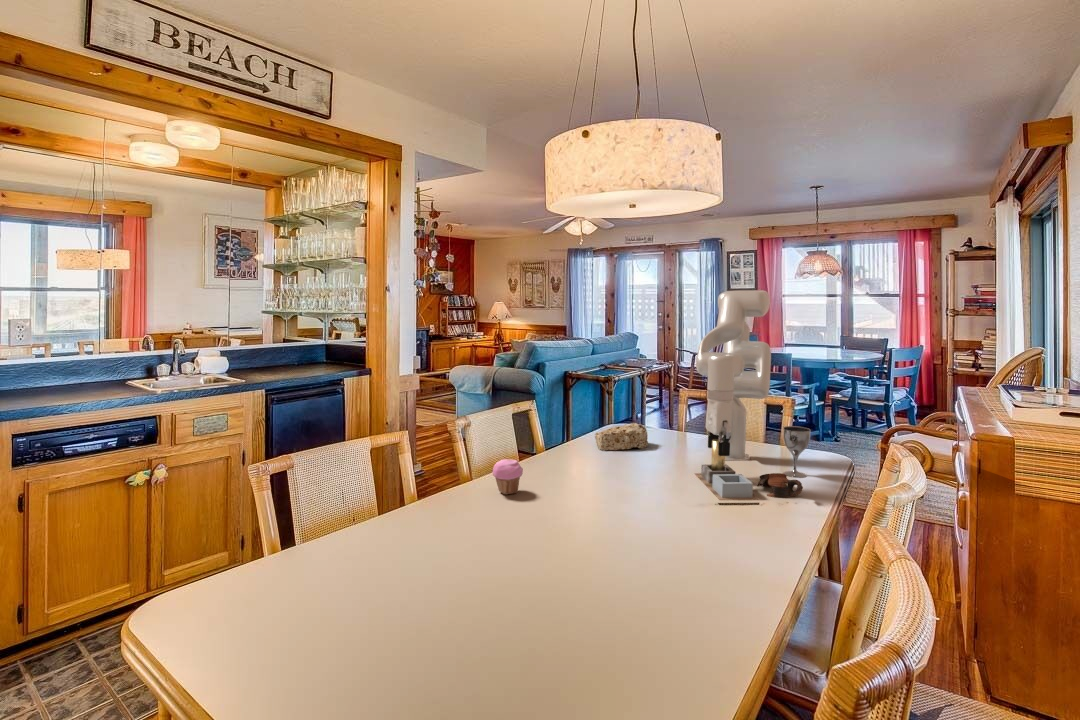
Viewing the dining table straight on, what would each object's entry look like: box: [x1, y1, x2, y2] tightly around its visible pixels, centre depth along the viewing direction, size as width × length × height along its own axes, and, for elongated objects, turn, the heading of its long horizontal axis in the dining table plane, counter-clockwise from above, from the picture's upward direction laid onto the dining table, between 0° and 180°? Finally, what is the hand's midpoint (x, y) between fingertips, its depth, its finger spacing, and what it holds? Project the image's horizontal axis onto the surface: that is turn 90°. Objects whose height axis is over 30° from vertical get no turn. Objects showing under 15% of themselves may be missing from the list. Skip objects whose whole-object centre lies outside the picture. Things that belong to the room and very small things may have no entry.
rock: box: [594, 422, 649, 451], centre depth 216 cm, size 21×14×10 cm
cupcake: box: [492, 458, 524, 495], centre depth 163 cm, size 9×9×10 cm
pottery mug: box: [756, 472, 804, 503], centre depth 158 cm, size 12×10×8 cm
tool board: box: [694, 463, 760, 506], centre depth 164 cm, size 24×11×5 cm, turn 1°
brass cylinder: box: [710, 439, 726, 471], centre depth 170 cm, size 4×4×12 cm
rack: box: [712, 473, 754, 498], centre depth 158 cm, size 8×8×4 cm
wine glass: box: [782, 425, 811, 479], centre depth 179 cm, size 8×8×15 cm
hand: (718, 451), depth 169 cm, fingers open, 9 cm apart
